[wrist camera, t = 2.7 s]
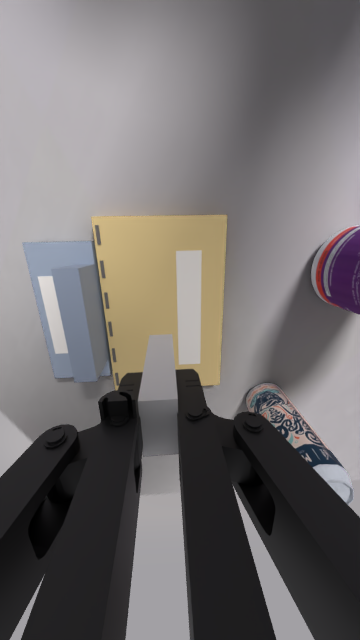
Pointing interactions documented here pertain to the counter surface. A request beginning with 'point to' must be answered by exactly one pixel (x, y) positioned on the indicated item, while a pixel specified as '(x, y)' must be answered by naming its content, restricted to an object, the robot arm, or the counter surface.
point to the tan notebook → (163, 288)
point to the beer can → (300, 436)
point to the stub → (70, 307)
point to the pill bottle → (339, 270)
